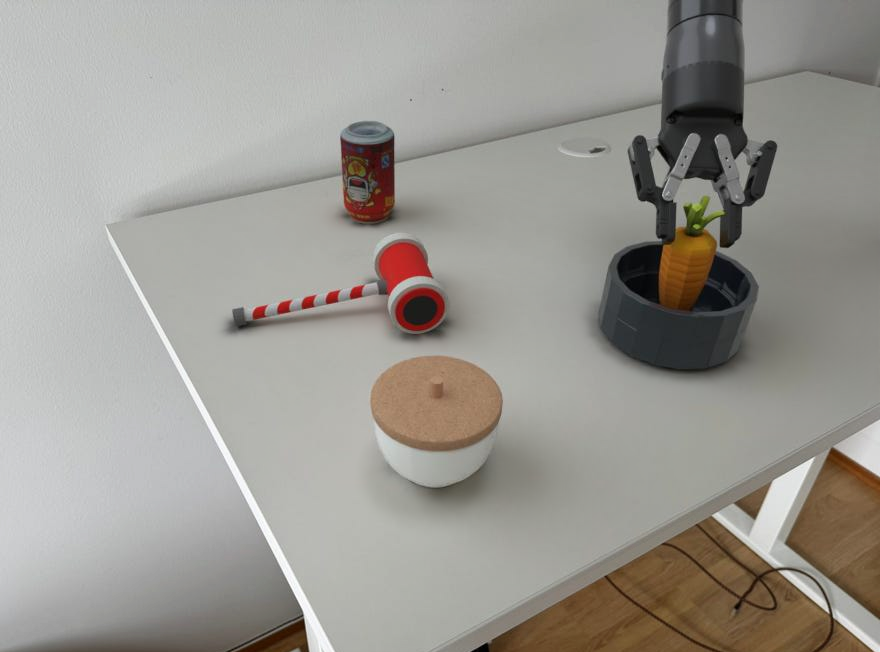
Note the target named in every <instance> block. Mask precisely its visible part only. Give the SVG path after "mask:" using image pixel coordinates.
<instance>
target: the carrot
mask: <svg viewBox="0 0 880 652" xmlns="http://www.w3.org/2000/svg"><path fill="white" fill-rule="evenodd" d="M710 200H711V196H709V195H703V196H702V197H701V199H700V202H699V203H698V202H697V203H694V204H693V203H692V202H689V201H688V202H685V204H684V205H683V207H682V208H683V212H684V215H685V217H686V224H685V225H686V226H679V227H676V236H675V240H674V242H673V243H671V244H670V245H664V246H663V251H662V257H661V264H660V271H659V300H660V304H661V305H662V306H665V307H668V308H671V309H678V310H685V311H689V310H690V309H691V308H692V307H693V305H694V304H695V302H696V300H697V298H698V297H699V295H700V293H701V291H702V289H703V287H704V285H705V282H706V280H707V277H708V274H709V271H710V268H711V265H712V262H713V259H714V255H715V252H716V251H717V248H718V241H717V240H716V238H715V237H714V236H713V235H712V234H711V233H710V232H709V231H708V230H707V229H705V228H706V227H707V226H708V224H710V223H711V222H713V221H714V220H715V219H719V218H720V217H721V216H725V213H724V212H723V209H721V210H716V211H714V212H712V213H710V214H709V215H708V216H706V217H705V216H704V215H705V213H706V210H707V208H708V205H709V203H710Z"/></svg>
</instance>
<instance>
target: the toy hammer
mask: <svg viewBox="0 0 880 652" xmlns="http://www.w3.org/2000/svg"><path fill="white" fill-rule="evenodd" d="M428 263H429V255H428V252H427V250H426V248H425V246H424V244H423V242H422V241H421V239H420V238H419V237H417V235H414V234H412V233H408V232H395V233H392V234H389V235H387V236H385V237H384V238H382V239H381V240H380V241H379V242H378V243H377V244H376V246H375V247H374V249H373V252H372V265H373V266H372V267H373V268H374V271H375V275H376V276H377V277H378V280H376V281H375V282H371V283H367V284H362V285H357V286H351V287H348V288H343V289H337V290H333V291H328V292H323V293H319V294H314V295H308V296H304V297H298V298H295V299H289V300H285V301H280V302H274V303H270V304H265V305H260V306H256V307H255V306H254V307H251V308H246V309H245V308H244V306H241V307H237V308H232V309H231V312H232V318H233V322H234V324H235V327H240V326H241V327H242V326H246V325H248V322H251V321H255V320H260V319H265V318H269V317H270V318H271V317H274V316H281V315H284V314H288V313H289V314H290V313H293V312H298V311H304V310H308V309H309V310H310V309H313V308H318V307H322V306H328V305H333V304H338V303H341V302H346V301H351V300H356V299H361V298H366V297H371V296H374V295H379V296H385V295H387V296H388V300H387V310H388V313H389V316H390V319H391V322H392V323H393V325H394V326H395V327H396V328H397V329H398V330H400V331H401V332H403V333H407V334H414V335H419V334H423V333H428V332H430V331H432V330H434V329H435V328H437V327H438V326H439V325H441V323H443V321H444V320H445V319H446V317H447V315H448V313H449V309H450V301H449V298H448V295H447V293H446V291H445V289H444V287H443V286H442V284H441V283H440V282H439V281H438V280H437V279H435V278H434V275H433V274H432V272H431V269H430V267H429V265H428Z"/></svg>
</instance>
